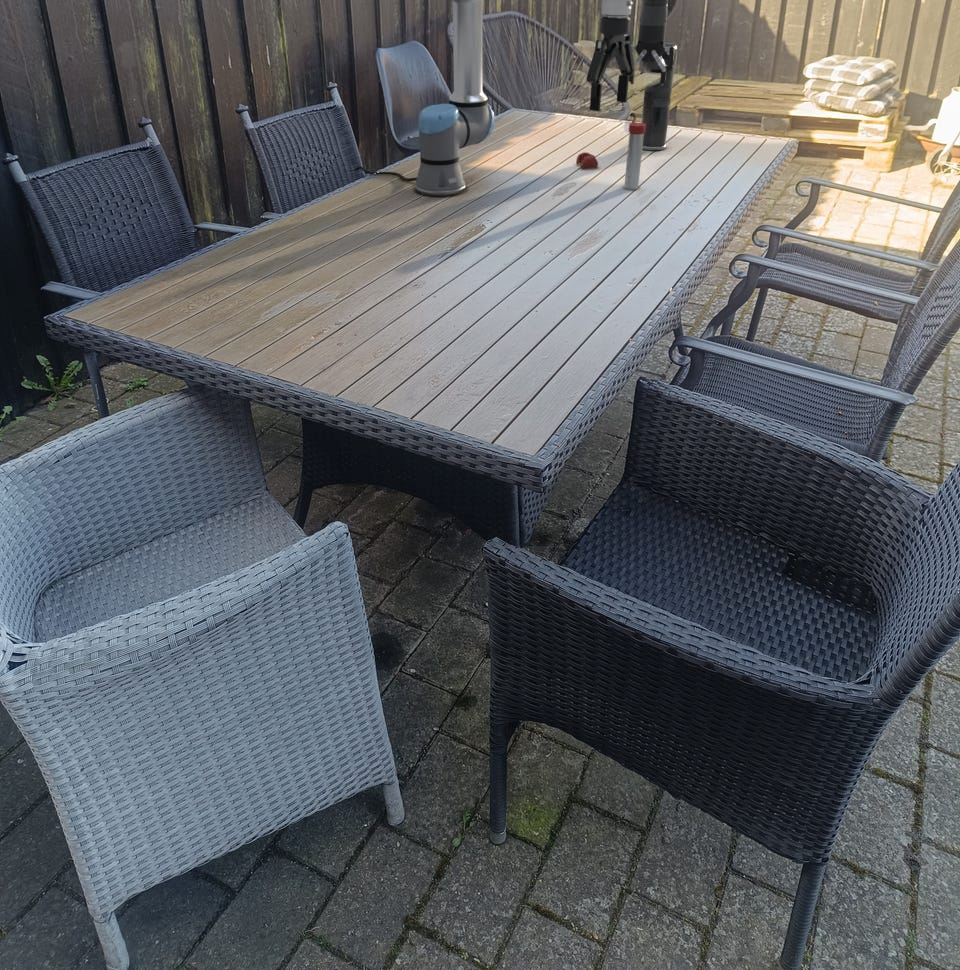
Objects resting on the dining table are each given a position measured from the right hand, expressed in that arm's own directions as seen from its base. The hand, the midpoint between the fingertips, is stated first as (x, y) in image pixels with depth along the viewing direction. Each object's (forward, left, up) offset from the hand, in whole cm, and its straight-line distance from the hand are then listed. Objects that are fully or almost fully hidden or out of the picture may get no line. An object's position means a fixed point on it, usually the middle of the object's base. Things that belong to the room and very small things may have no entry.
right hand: (646, 84), depth 249 cm
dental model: (-13, -18, -28) cm, 36 cm away
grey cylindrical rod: (+7, -1, -28) cm, 29 cm away
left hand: (+31, -6, 0) cm, 32 cm away
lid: (+7, -1, -10) cm, 12 cm away
